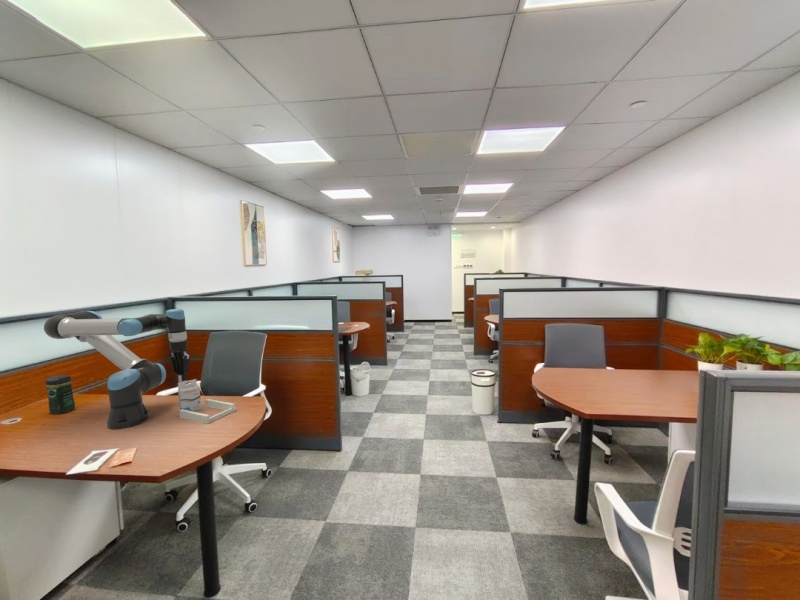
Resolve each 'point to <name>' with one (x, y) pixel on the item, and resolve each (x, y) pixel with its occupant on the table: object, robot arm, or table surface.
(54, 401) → the coffee jar
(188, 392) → the ink box
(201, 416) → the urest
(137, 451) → the table surface
